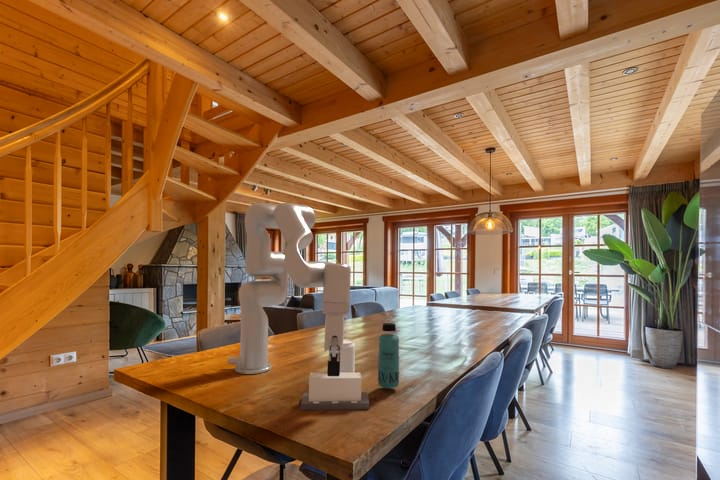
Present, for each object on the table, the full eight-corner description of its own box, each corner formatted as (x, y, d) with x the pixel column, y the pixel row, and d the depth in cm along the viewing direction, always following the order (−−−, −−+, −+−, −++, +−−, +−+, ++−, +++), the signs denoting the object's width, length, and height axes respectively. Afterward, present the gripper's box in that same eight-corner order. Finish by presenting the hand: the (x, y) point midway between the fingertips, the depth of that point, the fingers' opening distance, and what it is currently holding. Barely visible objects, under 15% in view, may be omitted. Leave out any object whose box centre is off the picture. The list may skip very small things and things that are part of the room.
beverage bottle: (376, 386, 111) (376, 321, 112) (397, 385, 111) (397, 321, 112) (379, 394, 104) (379, 325, 105) (401, 393, 105) (401, 325, 106)
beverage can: (357, 375, 121) (358, 339, 122) (349, 382, 114) (349, 344, 115) (336, 372, 124) (336, 337, 125) (326, 379, 116) (327, 342, 117)
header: (300, 409, 92) (300, 388, 93) (303, 398, 100) (304, 378, 101) (369, 408, 93) (369, 387, 94) (367, 397, 101) (367, 377, 102)
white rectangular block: (308, 401, 94) (309, 378, 94) (310, 394, 99) (310, 372, 99) (361, 400, 95) (361, 378, 95) (360, 394, 100) (360, 372, 100)
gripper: (324, 303, 107) (322, 360, 106) (320, 312, 90) (318, 380, 89) (348, 303, 107) (346, 360, 107) (350, 313, 90) (347, 381, 90)
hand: (333, 369), depth 98 cm, fingers open, 9 cm apart
